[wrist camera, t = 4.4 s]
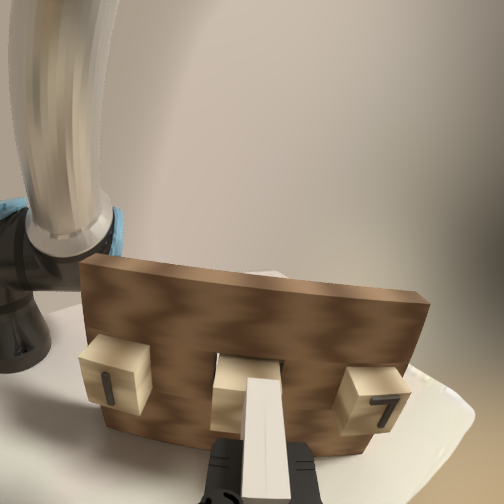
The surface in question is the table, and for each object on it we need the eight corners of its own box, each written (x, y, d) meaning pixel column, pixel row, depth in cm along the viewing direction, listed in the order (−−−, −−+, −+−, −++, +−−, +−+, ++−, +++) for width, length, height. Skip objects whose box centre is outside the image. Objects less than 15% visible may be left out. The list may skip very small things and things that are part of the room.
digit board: (93, 451, 22) (48, 279, 17) (126, 389, 34) (116, 242, 29) (371, 480, 23) (456, 326, 18) (349, 413, 34) (396, 276, 29)
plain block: (210, 429, 21) (212, 387, 19) (221, 368, 29) (224, 328, 28) (271, 436, 21) (282, 394, 19) (268, 373, 29) (276, 334, 28)
